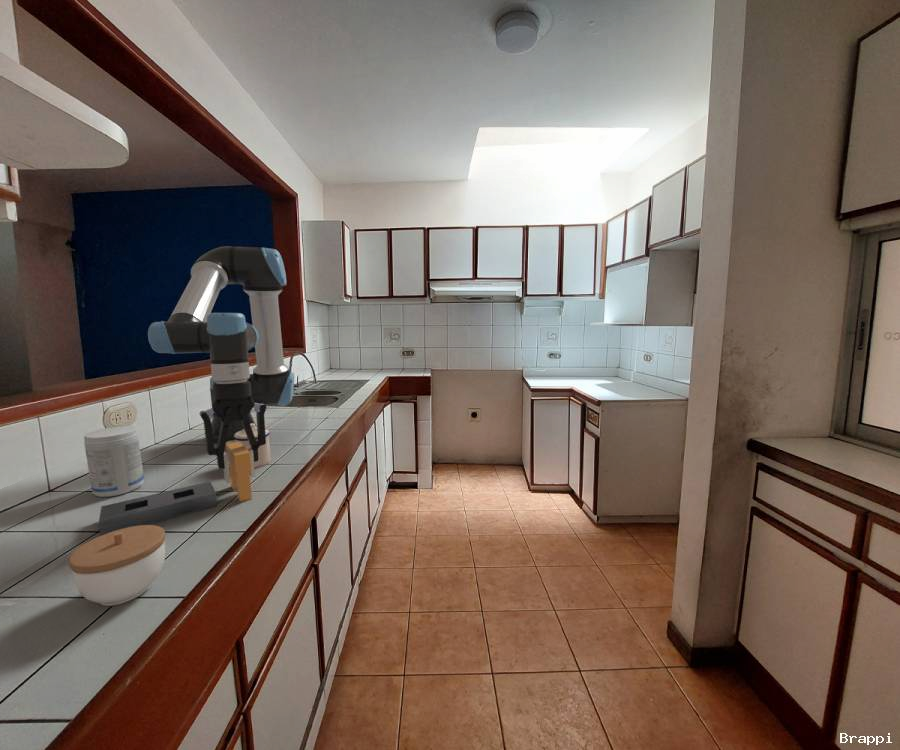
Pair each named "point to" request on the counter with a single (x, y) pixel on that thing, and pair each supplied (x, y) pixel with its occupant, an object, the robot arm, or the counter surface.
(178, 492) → the graphite rail
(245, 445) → the teacup with lid
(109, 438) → the supplement tub
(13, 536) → the counter surface
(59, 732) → the counter surface
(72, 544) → the counter surface
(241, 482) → the orange clip
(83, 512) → the counter surface
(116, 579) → the lidded jar
